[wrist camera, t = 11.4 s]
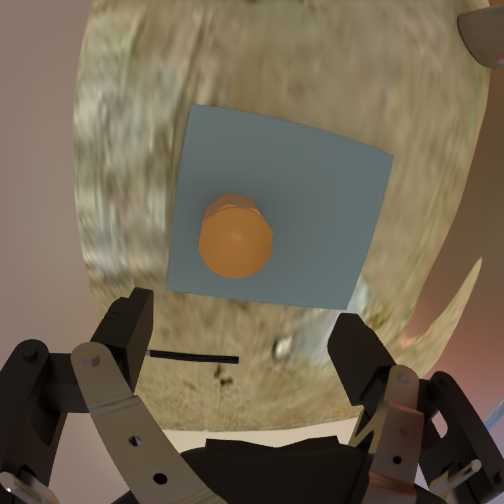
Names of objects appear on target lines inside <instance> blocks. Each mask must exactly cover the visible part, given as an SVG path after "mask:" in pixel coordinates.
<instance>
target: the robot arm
mask: <svg viewBox="0 0 504 504" xmlns="http://www.w3.org/2000/svg"><path fill="white" fill-rule="evenodd" d="M458 26H459V30H460V33H461V35H462V38H463V40H464V42H465V44H466V46H467V47H468V49H469V51H470V52H471V53H472V55H473V56H474V57H475V58H476V60H477V61H479V62H480V63H481V64H482V65H484V66H487V67H488V66H490V67H492V68H493V69H504V4H499V5H495V6H491V7H487V8H483V9H479V10H476V11H472V12H469V13H466V14H463V15H460V16H459V18H458ZM152 330H153V290H149V289H143V288H138V287H135V288H134V289H133V291H132V293H131V295H130V297H129V298H125V297H120V298H119V299H117V300H116V301H114V302H113V303H112V304H111V306H110V308H109V309H108V312H107V313H106V314H105V316H104V319H102V321H101V323H100V324H99V326H98V328H97V330H96V331H95V333H94V335H93V337H92V338H91V340H90V342H85V343H82V344H80V345H78V346H77V347H75V348H74V350H73V351H72V353H70V354H63V353H49V351H48V348H47V346H46V345H45V344H44V343H43V342H41V341H39V340H35V339H30V340H25V341H23V342H21V343H20V344H18V345H17V346H16V348H15V349H14V351H13V352H12V354H11V355H10V357H9V358H8V360H7V362H6V363H5V365H4V367H3V368H2V370H1V371H0V504H60V503H59V501H58V499H57V497H56V496H55V494H54V493H53V492H52V491H51V490H50V489H49V488H48V486H49V481H50V476H51V472H52V467H53V463H54V459H55V455H56V451H57V447H58V444H59V440H60V436H61V433H62V430H63V427H64V423H65V420H66V417H67V414H68V412H69V413H70V412H71V413H90V415H91V417H92V420H93V422H94V424H95V426H96V429H97V431H98V433H99V435H100V437H101V439H102V441H103V443H104V445H105V447H106V449H107V451H108V453H109V455H110V456H111V458H112V460H113V462H114V464H115V465H116V467H117V469H118V470H119V472H120V474H121V476H122V477H123V479H124V481H125V482H126V484H127V485H128V487H129V488H130V490H129V491H128V492H127V493H125V494H124V495H123V496H121V497H120V498H118V499H117V500H116V501H114V502H113V503H111V504H486V503H488V502H489V501H491V500H492V499H494V498H495V497H497V496H498V495H499V494H501V493H502V492H504V459H503V457H502V455H501V453H500V452H499V450H498V448H497V446H496V444H495V443H494V441H493V439H492V437H491V436H490V434H489V432H488V430H487V429H486V427H485V426H484V424H483V422H482V421H481V419H480V417H479V416H478V414H477V413H476V411H475V410H474V408H473V406H472V405H471V403H470V402H469V401H468V399H467V397H466V396H465V394H464V393H463V391H462V390H461V389H460V387H459V386H458V384H457V383H456V381H455V380H454V379H453V378H452V377H451V376H450V375H449V374H447V373H445V372H442V371H437V372H435V373H434V374H433V376H432V377H431V378H430V380H425V379H419V378H418V376H417V374H416V373H415V372H414V371H413V370H412V369H411V368H409V367H407V366H404V365H397V364H396V363H395V361H394V360H393V358H392V357H391V355H390V354H389V352H388V351H387V349H386V348H385V347H384V346H383V344H382V342H381V341H380V340H379V338H378V337H377V335H376V334H375V332H374V331H373V330H372V329H370V328H369V327H368V326H367V325H365V323H364V322H363V321H362V319H361V318H360V316H359V315H358V314H353V313H341V314H340V315H339V316H338V319H337V321H336V323H335V326H334V328H333V331H332V333H331V335H330V338H329V340H328V345H327V349H328V353H329V356H330V358H331V360H332V362H333V364H334V367H335V369H336V371H337V373H338V375H339V378H340V380H341V382H342V384H343V387H344V389H345V391H346V393H347V396H348V398H349V400H350V403H351V405H352V406H357V405H363V406H364V408H363V410H362V411H361V413H360V415H359V418H358V421H357V423H356V426H355V428H354V431H353V433H352V436H351V438H350V441H349V443H348V445H345V444H339V441H338V438H337V436H328V437H320V438H310V439H306V440H303V441H299V442H296V443H293V444H289V445H286V446H282V447H276V448H275V447H269V446H264V445H259V444H254V443H249V442H245V441H239V440H238V441H237V440H218V439H206V444H205V447H201V448H195V449H191V450H187V451H184V452H182V453H180V454H179V453H178V452H177V450H176V449H175V448H174V447H173V445H172V444H171V442H170V441H169V440H168V438H167V437H166V435H165V434H164V433H163V431H162V430H161V428H160V427H159V425H158V424H157V423H156V421H155V420H154V418H153V417H152V415H151V414H150V412H149V410H148V409H147V407H146V406H145V404H144V403H143V401H142V400H141V398H140V397H139V396H138V395H136V396H134V395H133V394H134V391H135V387H136V384H137V380H138V377H139V374H140V370H141V367H142V364H143V360H144V357H145V354H146V351H147V348H148V344H149V341H150V338H151V335H152ZM438 411H440V413H441V414H442V416H443V418H444V420H445V421H446V423H447V426H448V431H447V433H446V435H445V436H444V437H443V438H442V439H441V438H440V435H439V433H438V432H437V430H436V428H435V426H434V424H433V422H432V420H431V419H432V418H433V417H434V416H435V415H436V414H437V412H438ZM418 463H419V466H420V468H421V470H422V473H423V475H424V478H425V480H426V483H427V485H428V488H429V491H428V490H426V489H424V488H422V487H420V486H419V485H417V484H415V483H414V481H415V477H416V472H417V467H418Z"/></svg>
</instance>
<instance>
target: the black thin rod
mask: <svg viewBox="0 0 504 504" xmlns="http://www.w3.org/2000/svg"><path fill="white" fill-rule="evenodd" d="M145 356H150V357H157V358H167V359H174V360H183V361H193V362H218V363H232V364H238V362H239V357H235V356H203V355H195V354H186V353H174V352H159V351H148V350H147V352H146V354H145Z"/></svg>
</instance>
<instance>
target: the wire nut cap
mask: <svg viewBox="0 0 504 504" xmlns="http://www.w3.org/2000/svg"><path fill="white" fill-rule="evenodd" d="M272 236H273V232H272V230H271V228H270V227H269V225H268V223H267V221H266V219H265V217H264V216H263V214H262V213H261V211H260V210H259V208H258V207H257V205H256V204H255V202H254V201H253V200H252V198H251V197H250V196H244V195H238V194H233V193H225V194H224V195H222V196H221V197H219V198H218V199H217V200H215V201H214V202H212V203H211V204H209V205H208V206H207V208H206V211H205V214H204V218H203V221H202V227H201V234H200V238H199V248H198V249H199V251H200V254H201V257H202V259H203V261H204V262H205V264H206V265H207V266H208V267H209V268H210V269H211V270H212V271H213V272H215V273H217V274H219V275H221V276H224V277H228V278H243V277H247V276H249V275H252V274H254V273H256V272H257V271H258V270H260V269H261V268H262V267H263V266H264V265H265V264H266V262H267V261H268V259H269V257H270V255H271V251H272V246H273V241H272Z"/></svg>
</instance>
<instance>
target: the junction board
mask: <svg viewBox="0 0 504 504" xmlns="http://www.w3.org/2000/svg"><path fill="white" fill-rule="evenodd" d="M392 161H393V155H391V154H389V153H386V152H383V151H381V150H378V149H376V148H373V147H370V146H368V145H365V144H362V143H359V142H357V141H354V140H351V139H348V138H345V137H342V136H339V135H336V134H332V133H329V132H326V131H322V130H319V129H316V128H312V127H309V126H305V125H301V124H297V123H293V122H289V121H285V120H281V119H277V118H273V117H268V116H263V115H259V114H254V113H248V112H243V111H238V110H232V109H226V108H219V107H212V106H205V105H197V104H192V105H191V109H190V114H189V119H188V124H187V129H186V134H185V140H184V145H183V151H182V157H181V163H180V169H179V176H178V183H177V190H176V197H175V205H174V214H173V222H172V232H171V242H170V253H169V266H168V280H167V290H172V291H178V292H185V293H192V294H199V295H206V296H213V297H220V298H228V299H236V300H244V301H253V302H261V303H271V304H280V305H290V306H301V307H312V308H324V309H337V310H346V309H347V306H348V304H349V301H350V299H351V296H352V294H353V291H354V288H355V286H356V283H357V280H358V278H359V275H360V272H361V269H362V266H363V263H364V261H365V258H366V255H367V252H368V249H369V246H370V242H371V239H372V236H373V233H374V230H375V226H376V223H377V220H378V216H379V213H380V209H381V205H382V202H383V198H384V194H385V190H386V186H387V182H388V178H389V174H390V170H391V165H392ZM225 193H233V194H238V195H244V196H250V197H251V198H252V200H253V201H254V202H255V204H256V205H257V207H258V208H259V210H260V211H261V213H262V214H263V216H264V217H265V219H266V221H267V223H268V225H269V227H270V228H271V230H272V232H273V236H272V241H273V246H272V251H271V255H270V257H269V259H268V261H267V262H266V264H265V265H264V266H263V267H262V268H261V269H260V270H258V271H257V272H256V273H254V274H252V275H249V276H247V277H243V278H228V277H224V276H221V275H219V274H217V273H215V272H213V271H212V270H211V269H210V268H209V267H208V266H207V265H206V264H205V262H204V261H203V259H202V257H201V254H200V251H199V249H198V248H199V238H200V234H201V227H202V221H203V218H204V214H205V211H206V208H207V206H208V205H209V204H211V203H212V202H214V201H215V200H217V199H218V198H219V197H221V196H222V195H224V194H225Z"/></svg>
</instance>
